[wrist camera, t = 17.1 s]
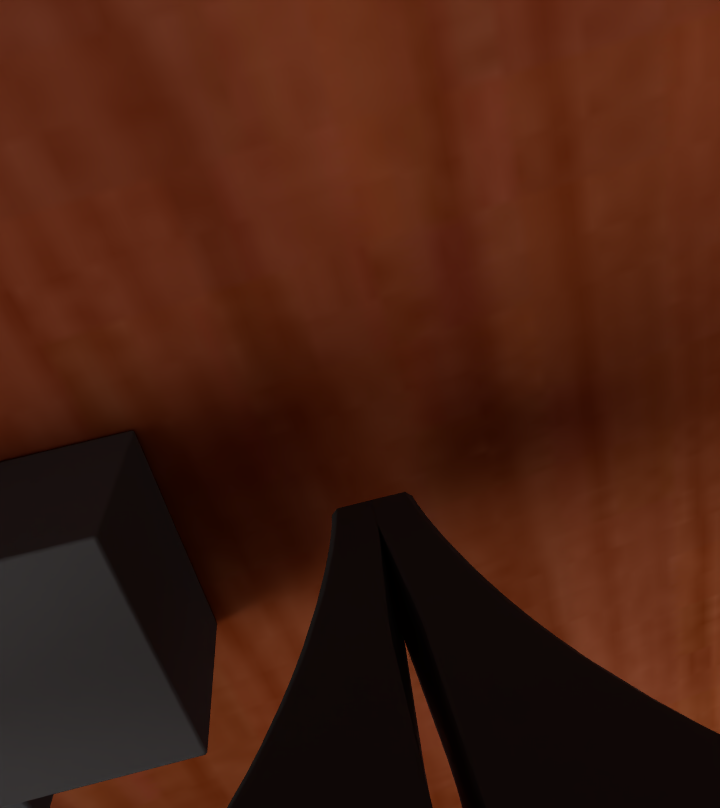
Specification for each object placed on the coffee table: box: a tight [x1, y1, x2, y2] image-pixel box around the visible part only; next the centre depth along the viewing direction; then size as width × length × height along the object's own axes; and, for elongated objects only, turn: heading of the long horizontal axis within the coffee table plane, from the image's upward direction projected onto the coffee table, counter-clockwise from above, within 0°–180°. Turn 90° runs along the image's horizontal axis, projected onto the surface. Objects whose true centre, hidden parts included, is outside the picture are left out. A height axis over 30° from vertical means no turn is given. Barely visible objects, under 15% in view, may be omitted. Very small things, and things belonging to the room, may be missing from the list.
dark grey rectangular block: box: [0, 431, 217, 808], centre depth 11 cm, size 4×5×3 cm
